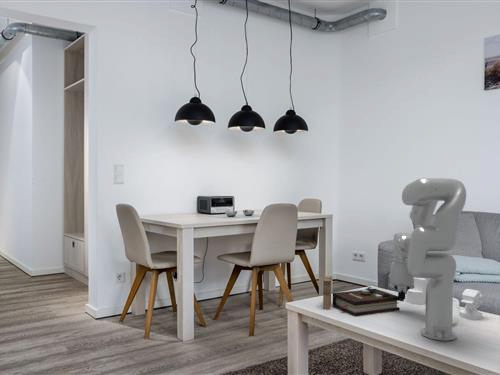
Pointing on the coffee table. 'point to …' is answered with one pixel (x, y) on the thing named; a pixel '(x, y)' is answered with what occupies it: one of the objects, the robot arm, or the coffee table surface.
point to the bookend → (327, 292)
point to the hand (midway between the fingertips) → (401, 300)
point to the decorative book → (365, 302)
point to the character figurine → (471, 304)
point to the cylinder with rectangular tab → (417, 292)
